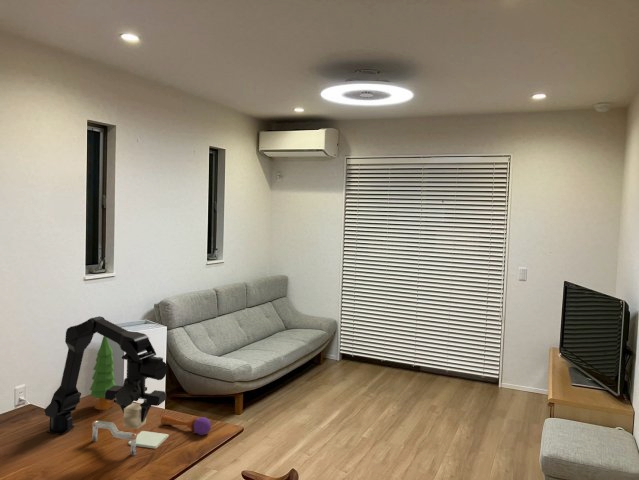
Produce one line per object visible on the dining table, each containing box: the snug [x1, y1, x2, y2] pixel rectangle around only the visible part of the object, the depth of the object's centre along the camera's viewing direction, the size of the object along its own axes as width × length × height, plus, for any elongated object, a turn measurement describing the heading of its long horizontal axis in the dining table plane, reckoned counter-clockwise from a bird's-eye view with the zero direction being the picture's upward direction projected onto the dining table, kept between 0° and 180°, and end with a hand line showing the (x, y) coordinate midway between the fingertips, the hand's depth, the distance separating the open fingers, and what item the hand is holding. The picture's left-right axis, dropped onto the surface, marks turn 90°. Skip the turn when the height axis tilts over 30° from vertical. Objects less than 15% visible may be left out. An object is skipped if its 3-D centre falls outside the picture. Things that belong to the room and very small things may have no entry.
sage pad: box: [127, 430, 169, 450], centre depth 174 cm, size 10×9×1 cm
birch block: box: [123, 402, 147, 430], centre depth 164 cm, size 5×5×6 cm
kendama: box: [160, 414, 212, 436], centre depth 184 cm, size 6×6×20 cm
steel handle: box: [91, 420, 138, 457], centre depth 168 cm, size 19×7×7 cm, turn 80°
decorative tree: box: [89, 336, 117, 411], centre depth 199 cm, size 10×9×30 cm
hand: (135, 420), depth 164 cm, fingers closed on birch block, 5 cm apart
